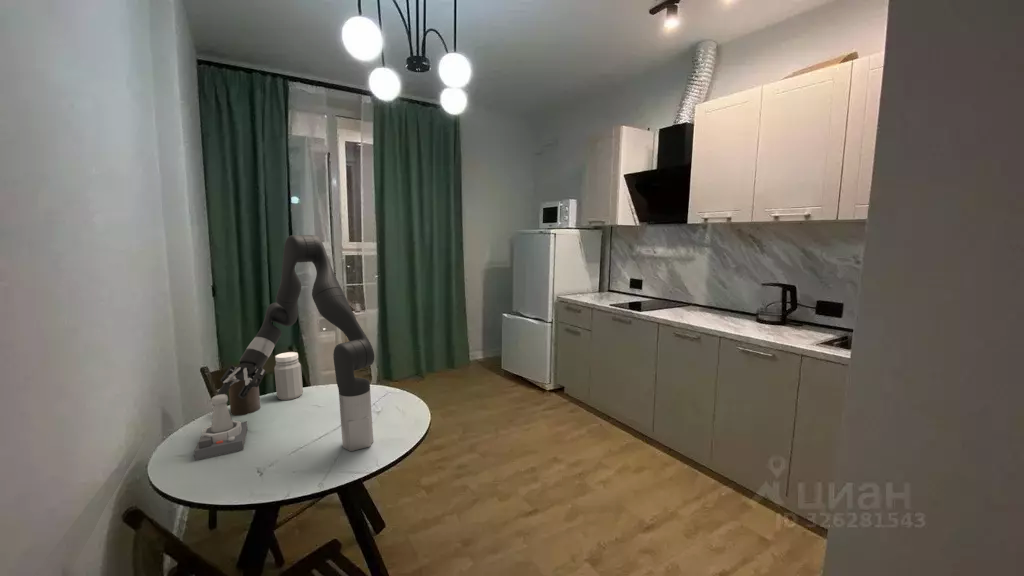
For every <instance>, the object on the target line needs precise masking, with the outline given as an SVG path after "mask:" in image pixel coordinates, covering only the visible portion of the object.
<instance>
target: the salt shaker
mask: <svg viewBox="0 0 1024 576" xmlns="http://www.w3.org/2000/svg"><path fill="white" fill-rule="evenodd" d="M210 401H211V404H212V405H213V413H212V421H211V425H212V428H211V430H212V433H213V434H215V433H220V432H226V431H228V430H230V429H232V428H233V422H232V417H231V412H230V410H229V408H228V404H227V403H228V401H229V397H228V395H227V394H226V395H225V394H221V395H218V394H216V395H214V396H213V397H212V398H211V399H210Z"/></svg>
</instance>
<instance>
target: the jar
mask: <svg viewBox="0 0 1024 576" xmlns="http://www.w3.org/2000/svg"><path fill="white" fill-rule="evenodd" d="M274 358H275V365H274V368H273V369H274V379H275V380H274V381H275V387H276V388H275V391H276V397H277V398H278V399H279V400H281V401H289V400H290V401H291V400H295V399H297V398H299V397H300V396H302V394H303V393H304V390H303V385H304V384H303V377H302V376H303V374H302V364H301V363H300V361H299V353H298V352H297V351H296V352H295V351H288V352H282V353H278V354H276V355H274Z"/></svg>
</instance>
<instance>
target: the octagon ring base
mask: <svg viewBox="0 0 1024 576" xmlns="http://www.w3.org/2000/svg"><path fill="white" fill-rule="evenodd" d="M232 422H233V428H232V429H230V430H228V431H226V432H220V433H215V434H213V433H212V430H211V428H212V424H211V425H208V426H207V427H205V428H203V429H202V431H201V435H200V437H199V439H198V442H197V443H196V447H195V448H194V451H193V454H194V460H195V461H199V459H200V460H203V459H207V458H208V459H210V458H212V457H218V456H221V455H222V456H223V455H226V454H230V453H236V452H240V451H244V448H245V444H246V439H247V434H248V431H249V430H248V428H249V427H248V421H240V420H234V419H233V420H232Z"/></svg>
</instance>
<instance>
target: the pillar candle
mask: <svg viewBox="0 0 1024 576" xmlns="http://www.w3.org/2000/svg"><path fill="white" fill-rule="evenodd" d="M234 377H235V376H234ZM235 378H236V377H235ZM231 381H232V380H230V381H229V382H231ZM256 382H257V380H256ZM243 386H246V385H245V381H244V380H243V381H238V382H235V383H234V384H232V385H231V386H230V388H229V390H228V395H229V397H228V401H229V409H230V410H229V412H230V415H233V416H246V415H248V414H249V415H250V414H253V413H255V412H257V411H259V410H260V409H261V398H260V385H259V386H258V387H253V388H252V389H250V391H249V393H248V394H247V396H246V397H245V398H244V399H241V398H239V397H238V395H239V393H240V391H241V390H242V388H243Z"/></svg>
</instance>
